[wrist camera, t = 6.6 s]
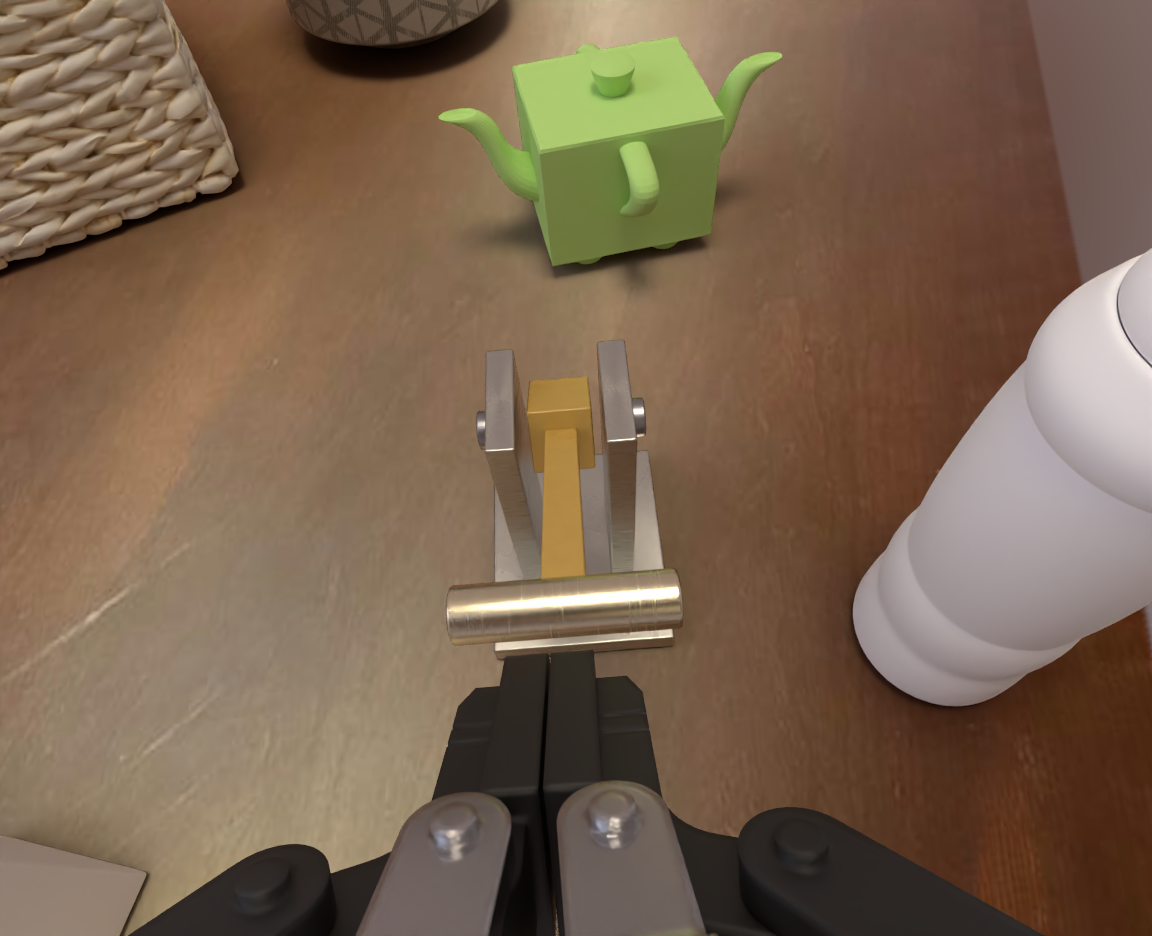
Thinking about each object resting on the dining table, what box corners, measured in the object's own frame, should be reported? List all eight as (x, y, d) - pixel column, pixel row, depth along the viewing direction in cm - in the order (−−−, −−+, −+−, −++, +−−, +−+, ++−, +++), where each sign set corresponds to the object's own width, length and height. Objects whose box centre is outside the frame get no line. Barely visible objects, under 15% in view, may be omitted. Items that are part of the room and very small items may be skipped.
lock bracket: (672, 646, 32) (696, 511, 22) (497, 660, 32) (434, 532, 22) (647, 461, 38) (656, 279, 27) (497, 474, 38) (446, 298, 27)
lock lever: (684, 656, 17) (683, 577, 16) (456, 674, 17) (438, 596, 16) (634, 429, 28) (632, 371, 26) (493, 441, 28) (484, 384, 26)
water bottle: (1044, 631, 32) (1882, 65, 11) (957, 747, 29) (1808, 317, 8) (905, 531, 35) (1343, -67, 14) (816, 628, 32) (1177, 91, 11)
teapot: (758, 192, 49) (788, 28, 40) (677, 322, 43) (691, 166, 34) (564, 138, 53) (552, -19, 44) (467, 250, 47) (430, 95, 38)
